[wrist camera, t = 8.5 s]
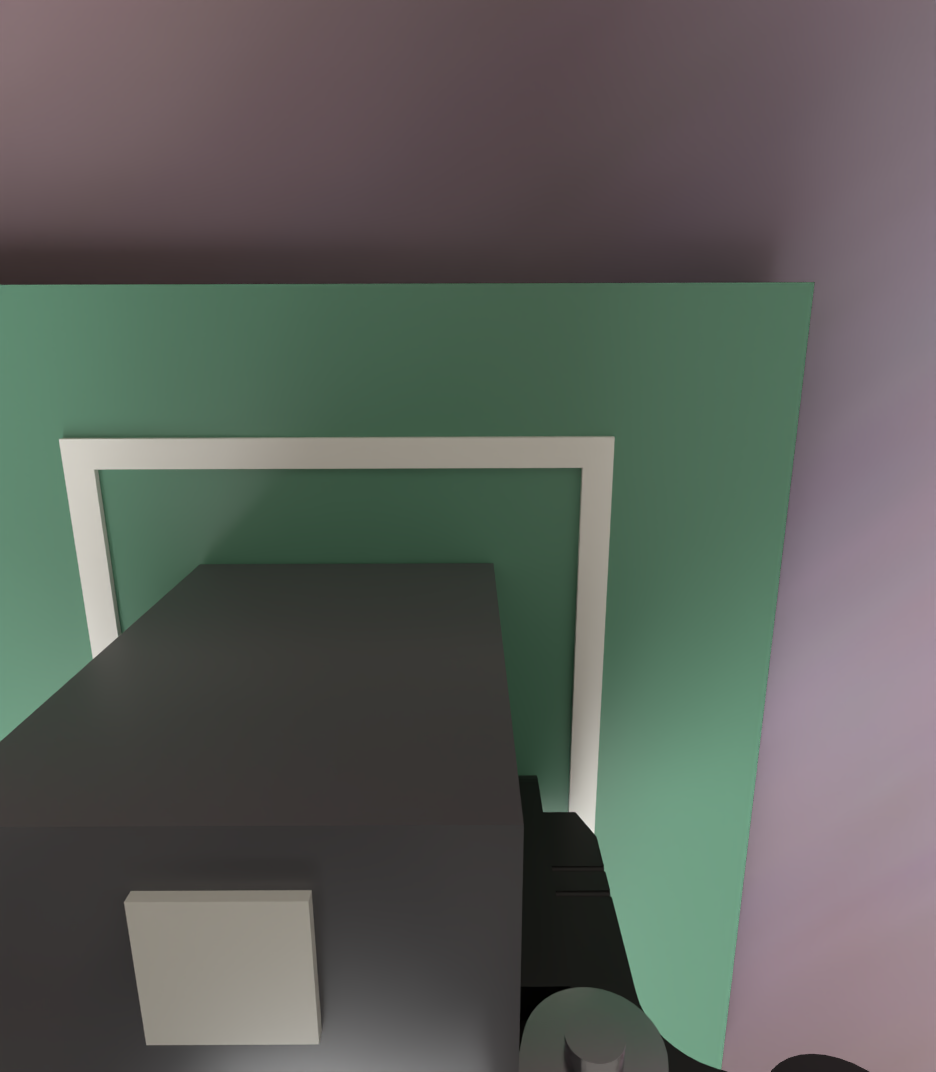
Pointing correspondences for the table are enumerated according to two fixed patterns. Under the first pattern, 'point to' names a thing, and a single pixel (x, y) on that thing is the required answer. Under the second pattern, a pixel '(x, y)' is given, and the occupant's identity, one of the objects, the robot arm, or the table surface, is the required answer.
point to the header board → (450, 524)
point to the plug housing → (271, 834)
